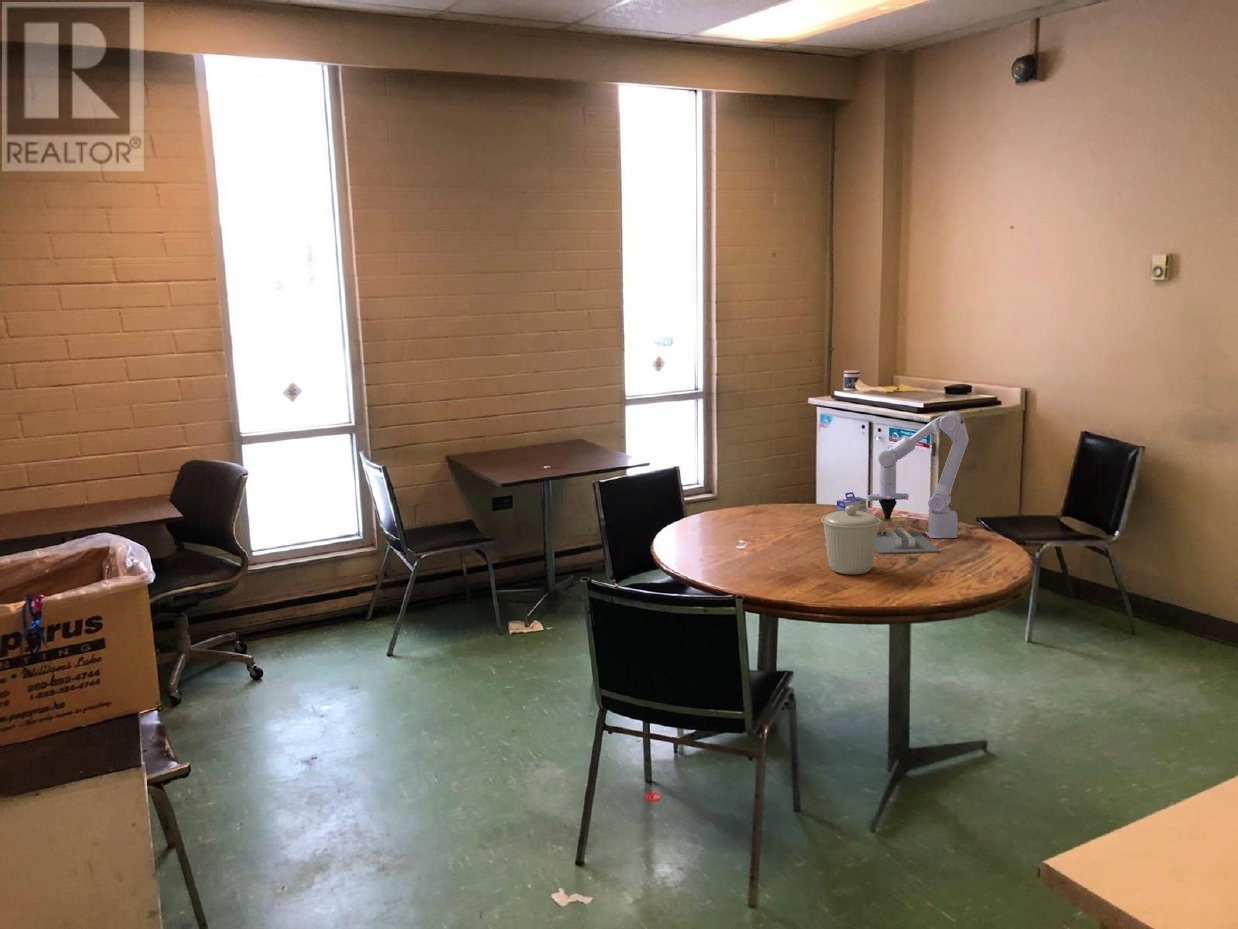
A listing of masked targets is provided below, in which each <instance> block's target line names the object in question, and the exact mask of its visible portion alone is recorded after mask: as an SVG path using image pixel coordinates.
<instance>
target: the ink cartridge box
mask: <svg viewBox="0 0 1238 929" xmlns="http://www.w3.org/2000/svg"><path fill="white" fill-rule="evenodd" d="M844 495H845V499H838V500H836V512H838V511H845V508H846V507H847V506H848V505H853V506H855V507H856V508H857V511H861V512H866V513H867V498H863V497H860V496H855V493H854V492H853V491H850V492H845V493H844ZM849 495H850V496H849ZM851 495H852V496H851Z"/></svg>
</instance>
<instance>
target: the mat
mask: <svg viewBox="0 0 1238 929" xmlns="http://www.w3.org/2000/svg"><path fill="white" fill-rule="evenodd" d="M906 531H907V532H908V533H909V534H910V535H911V536H912V537H914V538H915V548H908V547H907V545H906V544H905V543H904V542H903V541H902V548H895V547H894V546H893V544H892V543H891V541H890V540H889V539H888V538H887V536H886V531H883V535H880V534H879V531H878V533H877V541H876V548H875V552H876V553H879V555H891V554H890V553H902V554H916V553H915V552H921V553H920V554H926V553H925V552H941V551H940V550H939V549H938V548H937V546H935V545H934V544H933V543H932V542H931V541H929V539H927V538H926V537H925V536H924V535H923V534H922V533H921V532H919V530H906ZM894 532H895V533H896V534H897V531H896V530H895V531H894Z"/></svg>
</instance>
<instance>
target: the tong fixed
mask: <svg viewBox="0 0 1238 929" xmlns="http://www.w3.org/2000/svg"><path fill="white" fill-rule="evenodd" d="M907 531H908V530H906V529H903V528H902V527H900V526H897V535H898V537H900V538H901V539H902V541H903V542H904V543H905V544H906V545H907V547H908V548H915V538H914V537H912V536H911V535H910V534H909V533H908V532H907Z"/></svg>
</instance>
